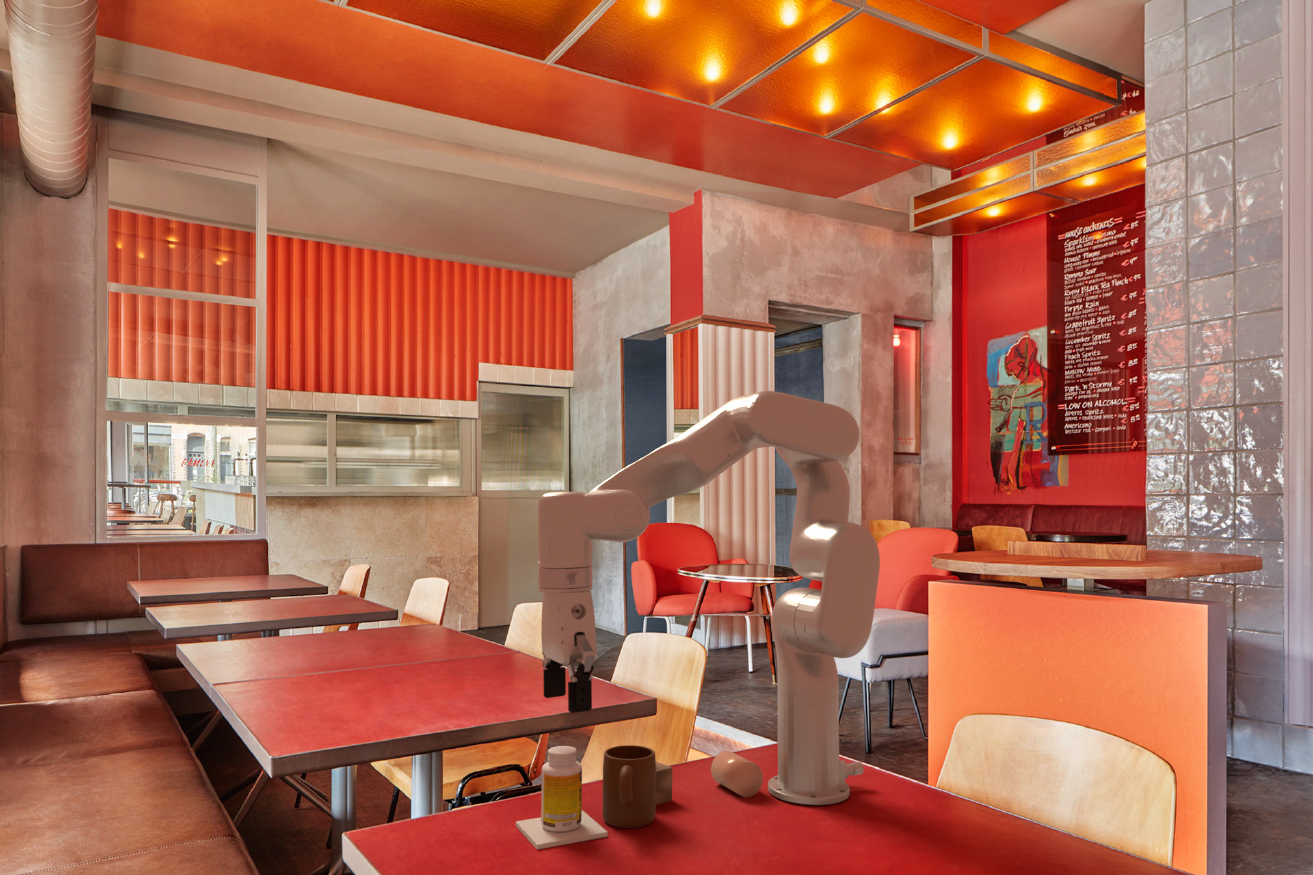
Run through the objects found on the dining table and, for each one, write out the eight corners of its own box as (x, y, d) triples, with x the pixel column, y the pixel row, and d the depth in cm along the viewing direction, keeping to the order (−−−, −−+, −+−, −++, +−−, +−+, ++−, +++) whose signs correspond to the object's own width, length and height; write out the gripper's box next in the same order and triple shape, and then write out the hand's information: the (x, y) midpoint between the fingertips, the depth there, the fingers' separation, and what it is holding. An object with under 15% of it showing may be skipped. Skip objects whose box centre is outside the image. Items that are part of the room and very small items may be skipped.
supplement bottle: (586, 830, 114) (587, 753, 115) (546, 835, 113) (547, 757, 113) (575, 816, 120) (576, 742, 120) (536, 821, 118) (538, 746, 119)
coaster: (582, 814, 122) (582, 810, 122) (607, 836, 114) (607, 831, 114) (515, 825, 118) (515, 821, 118) (536, 849, 110) (537, 844, 110)
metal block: (650, 792, 132) (650, 759, 133) (672, 800, 128) (672, 767, 129) (625, 799, 129) (626, 765, 129) (647, 808, 125) (647, 773, 125)
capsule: (708, 782, 135) (735, 784, 137) (731, 796, 129) (759, 798, 131) (714, 749, 136) (740, 751, 138) (737, 761, 130) (765, 763, 132)
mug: (653, 843, 112) (653, 770, 113) (596, 841, 112) (597, 768, 113) (656, 810, 124) (657, 744, 125) (605, 809, 124) (605, 743, 125)
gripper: (615, 583, 113) (617, 713, 111) (568, 573, 128) (569, 688, 127) (562, 586, 109) (563, 721, 108) (520, 576, 125) (521, 694, 123)
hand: (567, 703), depth 117 cm, fingers open, 9 cm apart
